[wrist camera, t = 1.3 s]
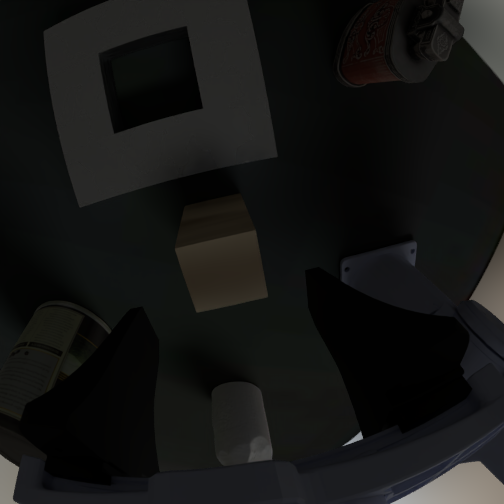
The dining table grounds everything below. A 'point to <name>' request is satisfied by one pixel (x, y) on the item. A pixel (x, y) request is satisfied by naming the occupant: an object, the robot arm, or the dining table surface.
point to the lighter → (397, 41)
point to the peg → (220, 253)
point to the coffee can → (43, 366)
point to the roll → (240, 424)
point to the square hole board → (164, 130)
